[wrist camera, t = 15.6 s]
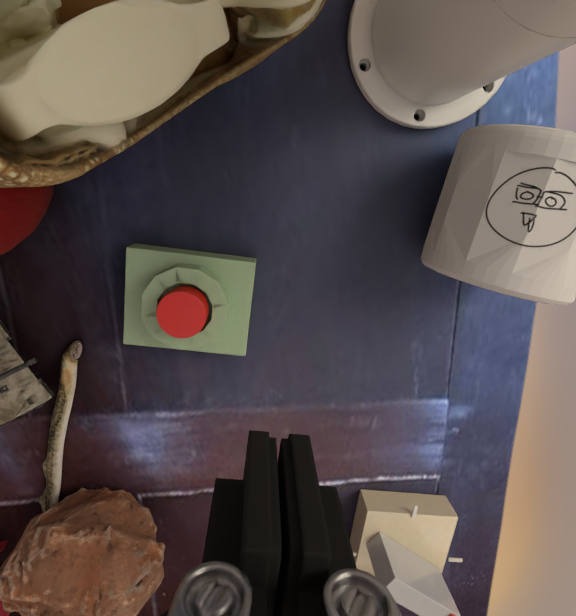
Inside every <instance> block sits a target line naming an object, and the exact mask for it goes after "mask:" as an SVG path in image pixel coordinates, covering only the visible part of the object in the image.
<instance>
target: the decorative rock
mask: <svg viewBox="0 0 576 616" xmlns="http://www.w3.org/2000/svg"><path fill="white" fill-rule="evenodd" d="M156 531H157V526H156V525H155V524H154V521H153V517H152V515H151V512H150V510H149V508H146V507H143V506H141V505H140V504H139V503H138V502H137V500H136V499H135V498H134V497H133V495H132V494H131V493H130V492H128V493H127V492H125V491H124V490H117V491H111V490H110V489H108V488H106V487H103V488H102V489H100V490H87V489H85V488H81V489H80V490H79V491H78V492H76V493H74V494H72V495H69V496H67V497H66V498H65V499H63V500H62V501H60V502H59V503H57V504H56V505H54V506H53V507H52V508H51V509H49V510H47V511H45V512H43V513H41V514H39V515H37V516H35V517H34V518H33V519H31V520H30V522H29V524H28V525H27V527H26V529H25V531H24V533H23V535H22V537H21V538H20V540H19V542H18V544H17V545H16V547H15V549H14V550H13V551H12V553H11V554H10V555H9V556H8V557H7V559H6V560H5V561H4V563H3V564H2V566H1V567H0V600H1V601H3V602H2V606H3V609H4V610H5V611H8V612H14V611H17V612H18V613H19V614H20V615H22V616H137V614H138V613H139V611H140V610H141V608H142V607H143V606H144V604H145V603H146V602H147V601H148V600H149V598H150V597H151V596H152V595H153V593H154V592H155V591H156V589H157V588H158V587H159V585H160V584H161V582H162V579H163V577H164V569H163V563H162V562H163V560H164V550H165V545H164V543H163V542H156Z"/></svg>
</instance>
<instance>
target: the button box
mask: <svg viewBox="0 0 576 616" xmlns="http://www.w3.org/2000/svg"><path fill="white" fill-rule="evenodd" d="M255 268H256V258H251V257H242V256H234V255H226V254H218V253H210V252H202V251H194V250H186V249H177V248H169V247H161V246H153V245H145V244H137V243H135V244H132V245H130V246H128V247H126V269H125V303H124V337H123V343H124V344H129V345H139V346H149V347H159V348H169V349H179V350H189V351H199V352H209V353H219V354H229V355H238V356H245V355H246V347H247V338H248V329H249V321H250V312H251V303H252V294H253V285H254V277H255ZM180 286H188V287H192V288H195V289H197V290H198V291H200V292H201V293H202V294H203V295H204V297H205V298H206V300H207V302H208V306H209V314H208V317H207V320H206V322H205V324H204V326H203V328H202V329H201V331H200V332H198V333H197V334H196V335H194V336H192V337H189V338H176V337H173V336H171V335H169V334H167V333H166V332H165V331H164V330H163V329H162V328H161V327H160V325H159V323H158V321H157V317H156V310H157V306H158V304H159V302H160V301H161V299H162V298H163V297H164V296H165V295H166V294H167V293H168V292H169V291H170V290H172V289H174V288H176V287H180Z"/></svg>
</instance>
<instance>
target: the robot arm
mask: <svg viewBox="0 0 576 616" xmlns="http://www.w3.org/2000/svg"><path fill="white" fill-rule="evenodd" d="M347 36H348V55H349V60H350V66H351V70H352V72H353V75H354V78H355V80H356V83H357V85H358V87H359V89H360V90H361V92H362V94H363V95H364V97H365V99H366V100H367V101H368V102H369V103H370V104H371V105H372V106H373V108H374V109H375V110H376V111H378V112H379V113H380V114H382V115H383V116H384V117H386V118H387V119H388V120H391V121H393V122H395V123H397V124H399V125H402V126H405V127H410V128H415V129H434V128H439V127H443V126H447V125H450V124H453V123H456V122H459V121H460V120H462V119H464V118H466V117H468V116H470V115H471V114H473V113H474V112H476V111H477V110H478V109H479V108H481V107H482V106H483V105H484V104H486V103H487V102H488V100H489V99H490V98H491V97H492V96H493V95H494V94H495V93H496V91H497V90H498V89H499V87H500V85H501V84H502V82H503V81H504V79H505V77H506V76H507V75H509V74H511V73H513V72H515V71H518V70H520V69H522V68H524V67H526V66H528V65H530V64H533V63H535V62H537V61H539V60H541V59H543V58H545V57H548V56H550V55H552V54H554V53H556V52H558V51H560V50H563V49H565V48H567V47H569V46H571V45H573V44H575V43H576V0H355V1H354V4H353V7H352V10H351V13H350V19H349V25H348V32H347ZM360 65H364V66H365V71H362V70H361V69H360ZM483 86H485V91H484V90H483ZM414 114H417V115H418V120H417V121H416V120H415V119H414ZM161 616H402V615H401V613H400V611H399V609H398V606H397V604H396V602H395V600H394V598H393V596H392V595H391V593H390V591H389V590H388V588H387V587H386V586H385V585H384V584H383V583H382V582H381V581H380V580H379V579H378V578H376V577H375V576H373V575H372V574H370V573H368V572H365V571H362V570H359V569H357V567H356V563H355V559H354V555H353V551H352V547H351V543H350V539H349V535H348V531H347V527H346V523H345V519H344V515H343V511H342V507H341V503H340V499H339V495H338V491H337V489H336V488H335V487H330V486H319V483H318V478H317V473H316V468H315V462H314V457H313V452H312V447H311V441H310V437H309V435H298V434H289V437H288V439H281V444H280V450H279V457H278V464H277V447H276V438H270V437H269V432H263V431H251V430H249V436H248V444H247V452H246V461H245V469H244V477H243V480H235V479H221V478H216V481H215V487H214V493H213V499H212V505H211V511H210V518H209V524H208V530H207V536H206V542H205V549H204V555H203V561H202V564H200V565H198V566H196V567H194V568H192V569H191V570H190V571H189V572H188V573H187V574H186V575H185V576H184V577H183V579H182V580H181V582H180V584H179V585H178V588H177V590H176V593H175V596H174V598H173V601H172V603H171V606H170V609H169V610H168V611H166V612H165V613H164V614H162V615H161Z"/></svg>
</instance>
